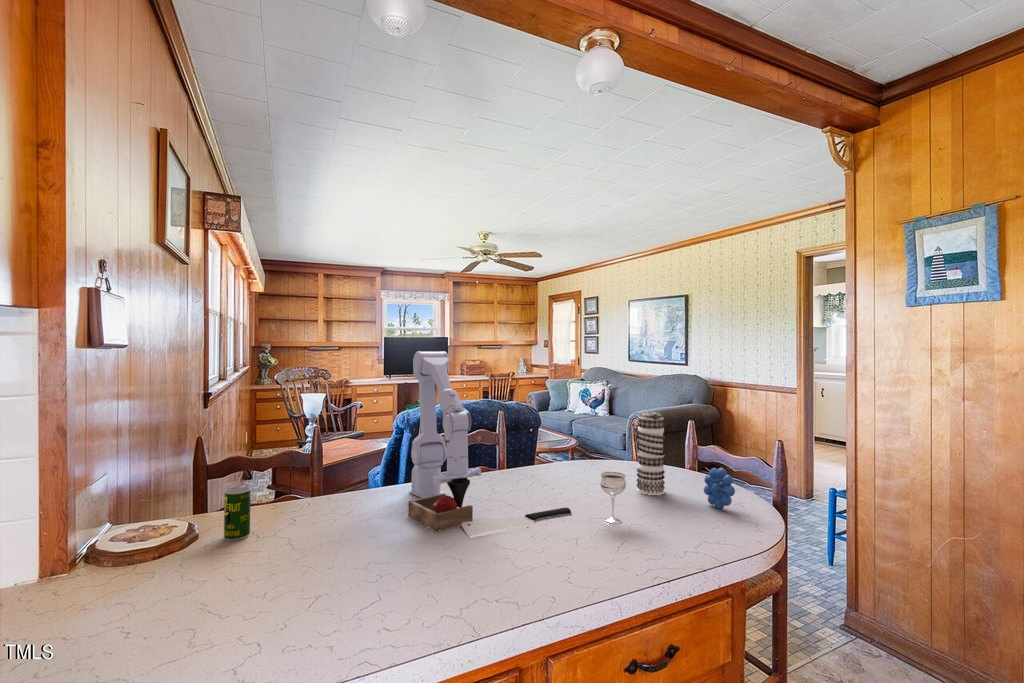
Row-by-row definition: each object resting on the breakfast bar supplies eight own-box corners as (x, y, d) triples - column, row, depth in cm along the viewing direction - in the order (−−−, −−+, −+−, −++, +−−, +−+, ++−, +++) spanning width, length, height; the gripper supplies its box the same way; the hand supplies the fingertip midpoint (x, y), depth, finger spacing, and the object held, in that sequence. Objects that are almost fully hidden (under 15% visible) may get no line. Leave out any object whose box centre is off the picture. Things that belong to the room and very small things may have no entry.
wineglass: (615, 527, 120) (615, 480, 120) (594, 519, 125) (594, 474, 125) (631, 521, 125) (631, 475, 125) (610, 514, 130) (610, 470, 130)
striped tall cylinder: (631, 487, 155) (631, 411, 155) (658, 487, 156) (658, 411, 156) (641, 496, 146) (642, 415, 146) (670, 495, 147) (671, 414, 147)
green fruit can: (231, 532, 114) (232, 483, 114) (254, 532, 115) (255, 483, 115) (218, 542, 109) (219, 489, 109) (242, 542, 109) (243, 489, 109)
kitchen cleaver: (472, 538, 111) (458, 519, 120) (472, 545, 111) (458, 526, 120) (584, 519, 124) (564, 503, 133) (583, 525, 124) (563, 509, 133)
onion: (452, 496, 131) (431, 489, 125) (466, 502, 127) (445, 495, 121) (444, 517, 129) (423, 511, 124) (458, 524, 125) (436, 518, 120)
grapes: (746, 514, 131) (746, 470, 131) (726, 516, 129) (726, 472, 129) (717, 501, 142) (717, 460, 142) (698, 502, 140) (698, 462, 140)
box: (408, 516, 127) (408, 501, 127) (443, 507, 134) (443, 493, 134) (436, 531, 116) (436, 515, 116) (472, 521, 123) (472, 505, 123)
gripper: (442, 462, 120) (443, 516, 120) (487, 454, 130) (488, 504, 129) (428, 458, 126) (429, 510, 125) (472, 450, 135) (473, 498, 135)
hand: (458, 506), depth 128 cm, fingers closed, pressing on onion
